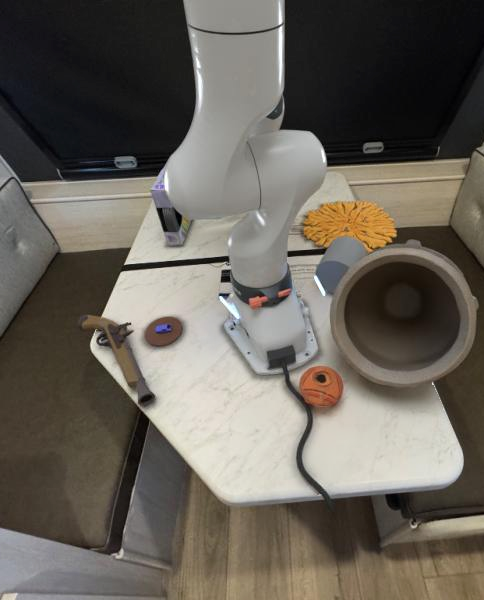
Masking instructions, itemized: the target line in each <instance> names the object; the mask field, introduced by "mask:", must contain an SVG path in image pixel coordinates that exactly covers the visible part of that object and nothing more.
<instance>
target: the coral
mask: <svg viewBox="0 0 484 600" xmlns="http://www.w3.org/2000/svg"><path fill="white" fill-rule="evenodd" d="M377 206H378V203H376V202H372V203H371V202H370V201H367V200H364V201H363V202H362V201H360V200H356V201H354V200H353V201H349V202H348V203H347V201H344V200H343V201H342V202H341V201H340V200H338V201H337V203H336V202H334V203H333V202H329V203H328V202H327V203H326V202H324V203H321V207H320V208H319V209H318V208H317V209H316V211H315V210H313V209H312V210H309V211H308V212H307V213H305V215H304V216H305V217H307V218H305V219H304V220H302V223H301V224H303V225H306V226H304V227H303V228H302V232H303V236H305V237H306V239H307V240H312V241H314V244H315V246H318V247H322V246H323V247H324V248H325V249H327V248H328V247H329V245H330V243H331V242H332V241H333V240H334V239H336V238H338V237H342V236H348V237H352V238H355V239H357V240H358V241H360V242H361V243H362V244H363V245H364V247H365V248H366V250H367V253H369V252H371V251H373V250H375V249H378V248H381V247H384V246H387V244H392V243H393V238H397V236H398V234H397V232H398V231H397V230H396V227H395V223H394V222H395V219H394V218H393V217H389V213H388V212H385V211H384V207H382V206H379V207H377ZM345 230H346V231H345Z"/></svg>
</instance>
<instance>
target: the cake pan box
mask: <svg viewBox="0 0 484 600" xmlns="http://www.w3.org/2000/svg"><path fill="white" fill-rule="evenodd" d="M166 164H167V162H166V163H165V165H164V167H163V168H162V169H161V170H160V172H159V174H158V176H157V179H156V180H155V182H154V183H153V185H152V187H151V188H150V191H149V192H150V194H151V198H152V200H153V204H154V207H155V210H156V213H157V216H158V219H159V222H160V225H161V229H162V232H163V235H164V238H165V241H166V245H167V246H171V247H172V246H183V245H184V242H185V240H186V236H187V234H188V231H189V228H190V226H191V223H192V220H189V219H187V218H185V217H184V216H182V215H181V214H180V213H179V212H178V211H177V210H176V209H175V208H174V207H173V206H172V204H171V203H170V201H169V199H168V197H167V195H166V192H165V188H164V170H165V167H166Z"/></svg>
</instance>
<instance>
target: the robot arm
mask: <svg viewBox="0 0 484 600" xmlns="http://www.w3.org/2000/svg"><path fill="white" fill-rule="evenodd" d="M285 3H286V2H285V0H183V8H184V14H185V20H186V26H187V33H188V38H189V44H190V51H191V59H192V67H193V74H194V75H193V76H194V84H195V106H194V107H195V108H194V112H193V117H192V121H191V123H190V124H191V125H190V126H189V129H188V132H187V133H186V136H185V138H184V139H183V140H182V142H181V144H180V145H179V146H178V147H177V149H176V150H175V151H174V152H173V153H171V155H170V156H169V157H168V159H167V161H166V163H167V164H166V163H165V165H166V167H165V166H164V167H165V170H164V188H165V192H166V195H167V197H168V199H169V201H170V203H171V204H172V206H173V207H174V208H175V209H176V210H177V211H178V212H179V213H180V214H181V215H182V216H184V217H185V218H187V219H189V220H191V221H205V220H221V219H224V218H229V217H234V216H237V215H241V214H245V215H243V217H241V218H240V219H239V220H238V221H237V222H236V223H235V224H234V225H233V226H232V227H231V229H230V231H229V233H228V235H227V240H226V249H227V254H228V260H229V266H230V270H229V279H230V280H229V281H230V285H231V288H232V289H231V291H230V293H229V295H228V297H227V298H226V299H227V301H226V300H225V299H224V298H223V296H219V299H220V302H222V303H223V305H224V306H225V307H226V308H227V309H228V311H229V317H230V318H228V319H227V321H225V323H224V331H225V332H226V334H227V335H228V337H229V338H230V339H231V341H232V342H233V344H234V345H235V346H236V348H237V349H238V351H239V352H240V354H241V356H243V358H244V360H245V361H246V362H247V364H248V365H249V366H250V368H251V370H252V371H253V372H254V373H255V374H256V375H259V376H273V375H278V374H283V375H284V382H285V384H286V386H287V389H288V390H289V392H291V394H293V395H294V396H295V398H297V399H298V401H300V403H301V404H302V405H303V407H304V409H305V410H306V414H307V423H306V427H305V430H304V431H303V433H302V436H301V438H300V440H299V442H298V444H297V448H296V455H295V456H296V464H297V468H298V470H299V472H300V474H301V475H302V477H303V478H304V479H305V480H306V482H307V483H309V485H311V486H312V487H313V488H314V489H315V490H316V491H317V492H318V493H319V494H320V496H322V498H323V499H324V501H325V504H326V505H327V509H328V510H329V511H331V512H333V511H335V505H334V502H333V500H332V498H331V497H330V495H329V493H328V492H327V490H325V488H324V487H323V486H322V485H321V484H320V483H318V481H317V480H315V479H314V477H312V476H311V475H310V474H309V472H308V471H307V470H306V468H305V466H304V463H303V449H304V446H305V444H306V441H307V440H308V437H309V435H310V433H311V430H312V428H313V423H314V421H313V420H314V416H313V415H314V414H313V411H312V408H311V405H309V404H310V403H309V404H307V403H306V402H305V399H304V397H303V396H302V394H301V393H300V392H298V391H297V390H296V388H295V387H294V385H293V384H292V382H291V379H290V378H291V377H290V373H289V371H292V370H295V369H298V368H300V367H302V366H304V365H305V364H307V363H309V362H310V361H311V360H313V359H314V358H315V357H316V355H317V354H318V353H319V345H318V342H317V339H316V336H315V334H314V331H313V330H314V329H313V327H312V324H311V321H310V318H309V317H311V316H310V315H311V314H310V309H309V307H308V306H305V302H304V301H303V299H300V298H302V294H301V293H302V292H301V291H300V290H298V291H296V290H297V289H296V286H295V283H294V278H292V275H293V274H292V271H291V268H290V263H289V262H288V251H289V250H288V249H289V248H288V247H289V237H290V232H291V230H292V227H293V224H294V222H295V220H296V218H297V216H298V214H299V213H300V211H301V210H302V209H303V207H304V206H305V204H306V203H307V202H308V201H309V199H311V197H312V196H314V195H315V194H316V193H317V192H318V191H319V190H320V189H321V187H322V186H323V185H324V181H325V179H326V176H327V170H328V160H327V154H326V152H325V151H326V150H325V149H324V146H323V145H322V143H321V141H320V140H319V138H318V137H317V136H316V135H315V134H314V133H313V132H311V131H308V130H297V129H281V126H282V123H283V120H284V117H285V98H284V90H285V73H286V62H285V61H286V60H285V59H286V58H285V56H286V55H285V54H286V53H285V50H286V49H285V47H286V46H285V45H286V41H285V40H286V39H285V38H286V37H285V36H286V35H285V34H286V32H285V31H286V29H285V28H286V27H285V25H286V15H285V13H286V10H285V8H286V7H285ZM314 280H315V283H316V285H317V286H318V288H319V290H320V292H321V294H322V296H324V297H325V296H326V290H325V289H324V288H323V287H322V286H321V284H320V282H319V280H318V278H317V277H316V275H314Z"/></svg>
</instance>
